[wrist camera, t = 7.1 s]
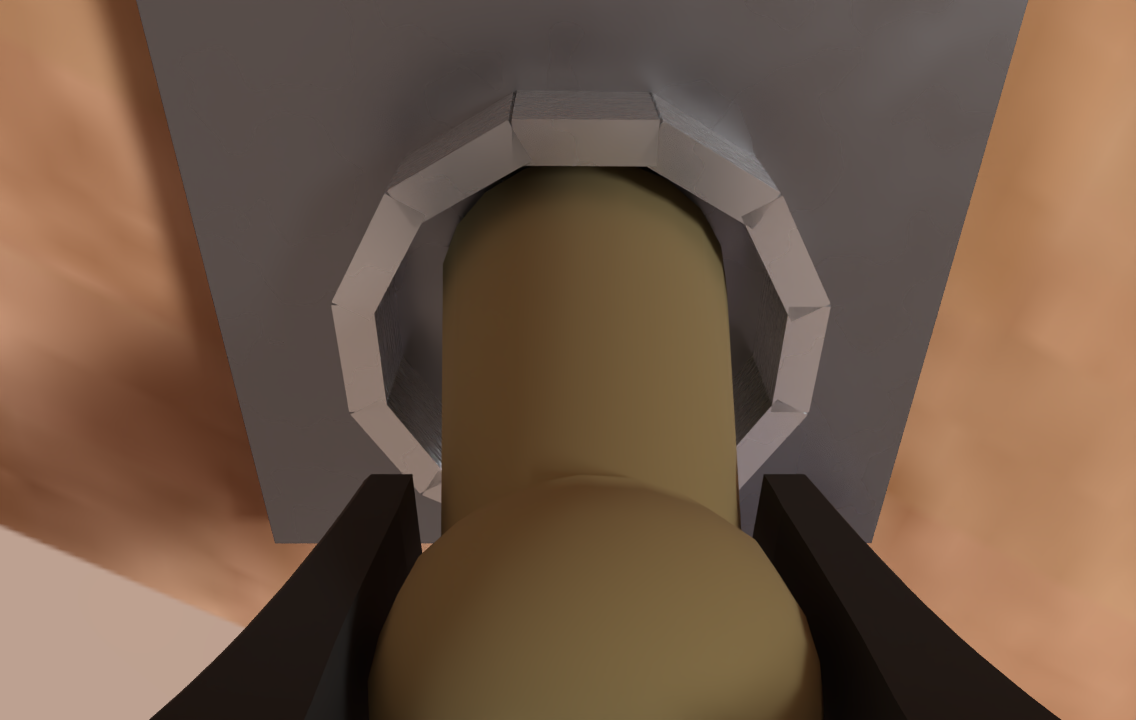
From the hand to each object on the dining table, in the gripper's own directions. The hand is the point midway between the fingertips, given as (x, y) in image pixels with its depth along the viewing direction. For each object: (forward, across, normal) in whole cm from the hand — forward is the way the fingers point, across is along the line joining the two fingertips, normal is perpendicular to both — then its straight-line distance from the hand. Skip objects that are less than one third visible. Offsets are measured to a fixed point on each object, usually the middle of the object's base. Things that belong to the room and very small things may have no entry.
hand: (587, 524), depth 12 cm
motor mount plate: (+8, 0, 0) cm, 8 cm away
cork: (+6, 0, -1) cm, 7 cm away
